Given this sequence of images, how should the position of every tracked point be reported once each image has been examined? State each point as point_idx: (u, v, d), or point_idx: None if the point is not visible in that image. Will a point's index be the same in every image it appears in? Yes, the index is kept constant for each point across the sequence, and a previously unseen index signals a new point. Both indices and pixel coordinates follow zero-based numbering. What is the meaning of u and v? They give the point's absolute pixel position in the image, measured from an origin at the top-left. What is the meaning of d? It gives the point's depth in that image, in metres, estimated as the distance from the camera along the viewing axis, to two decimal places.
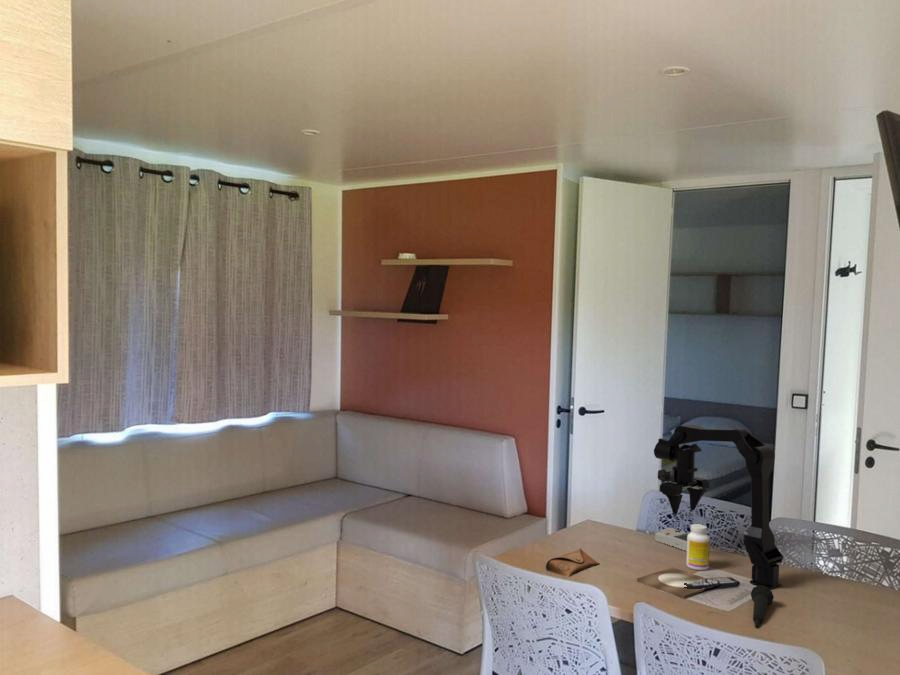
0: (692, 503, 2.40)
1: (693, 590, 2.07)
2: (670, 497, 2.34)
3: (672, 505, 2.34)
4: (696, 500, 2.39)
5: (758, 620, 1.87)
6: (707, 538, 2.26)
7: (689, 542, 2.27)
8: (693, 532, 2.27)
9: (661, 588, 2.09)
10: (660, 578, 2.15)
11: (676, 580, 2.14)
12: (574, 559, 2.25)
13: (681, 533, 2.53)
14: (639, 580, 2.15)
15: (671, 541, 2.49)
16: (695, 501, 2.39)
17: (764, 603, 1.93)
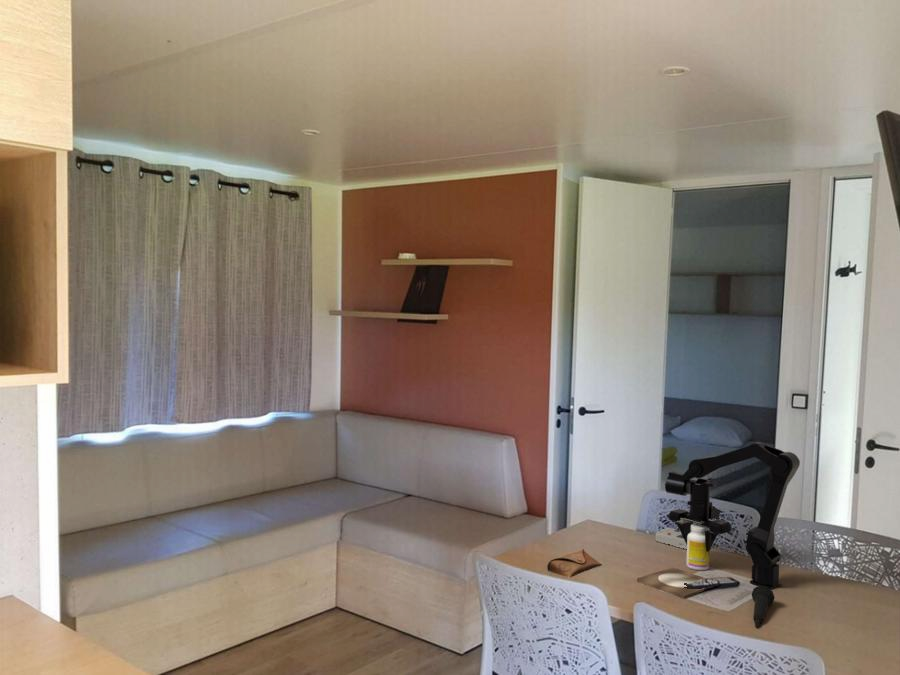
0: None
1: (693, 590, 2.07)
2: None
3: None
4: None
5: (758, 620, 1.86)
6: None
7: (689, 542, 2.27)
8: (693, 532, 2.27)
9: (661, 588, 2.09)
10: (660, 578, 2.15)
11: (676, 580, 2.14)
12: (576, 560, 2.24)
13: None
14: (639, 580, 2.15)
15: (674, 541, 2.49)
16: None
17: (765, 604, 1.93)
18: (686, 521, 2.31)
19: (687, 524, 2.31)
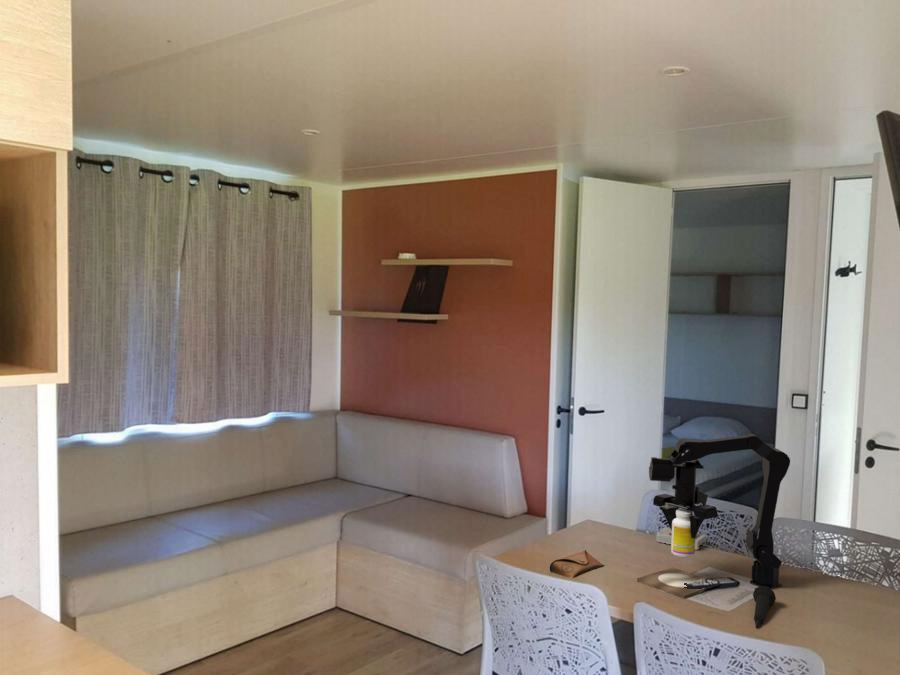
0: None
1: (693, 590, 2.07)
2: None
3: None
4: None
5: (759, 620, 1.86)
6: None
7: (673, 527, 2.17)
8: (678, 517, 2.16)
9: (661, 588, 2.09)
10: (660, 578, 2.15)
11: (676, 580, 2.14)
12: (578, 561, 2.23)
13: None
14: (639, 580, 2.15)
15: None
16: None
17: (766, 604, 1.93)
18: (671, 506, 2.20)
19: (672, 509, 2.20)
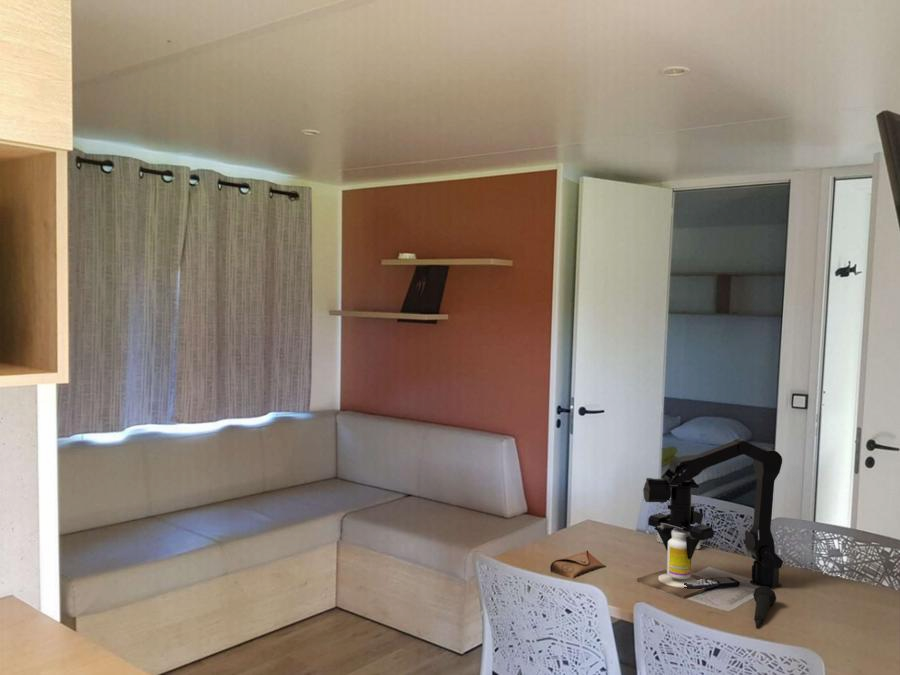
0: None
1: (693, 590, 2.07)
2: None
3: None
4: None
5: (759, 620, 1.86)
6: None
7: (669, 548, 2.13)
8: (674, 538, 2.13)
9: (661, 588, 2.09)
10: (660, 578, 2.15)
11: (676, 580, 2.14)
12: (579, 561, 2.23)
13: None
14: (639, 580, 2.15)
15: None
16: None
17: (766, 604, 1.93)
18: (667, 526, 2.17)
19: (668, 529, 2.17)
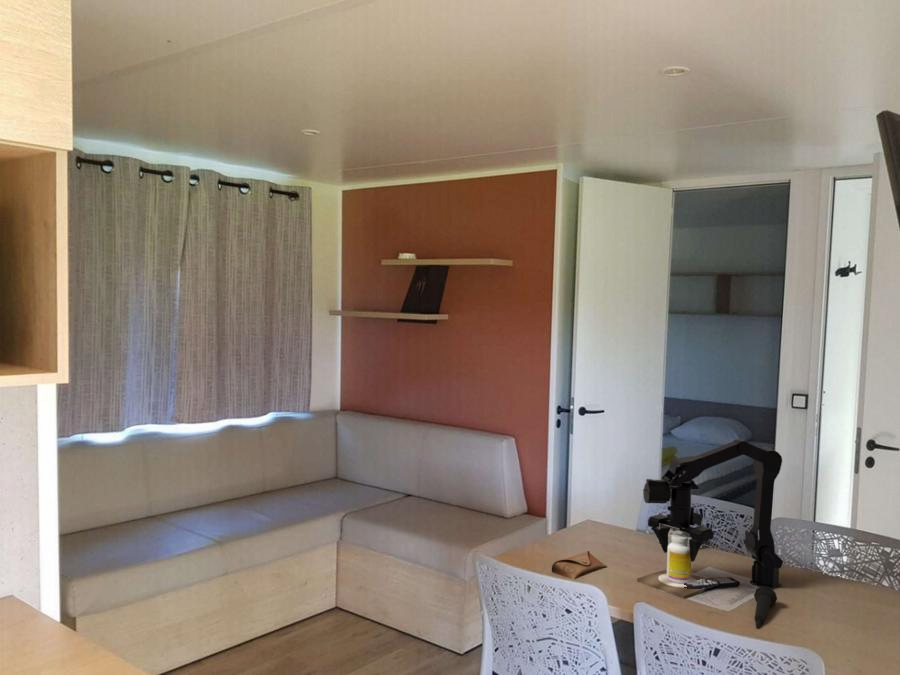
0: None
1: (693, 590, 2.07)
2: None
3: None
4: None
5: (759, 621, 1.86)
6: (688, 549, 2.12)
7: (669, 553, 2.13)
8: (673, 542, 2.13)
9: (661, 588, 2.09)
10: (660, 578, 2.15)
11: None
12: (580, 561, 2.23)
13: (679, 531, 2.55)
14: (639, 580, 2.15)
15: None
16: None
17: (767, 604, 1.93)
18: (663, 526, 2.18)
19: (664, 530, 2.18)
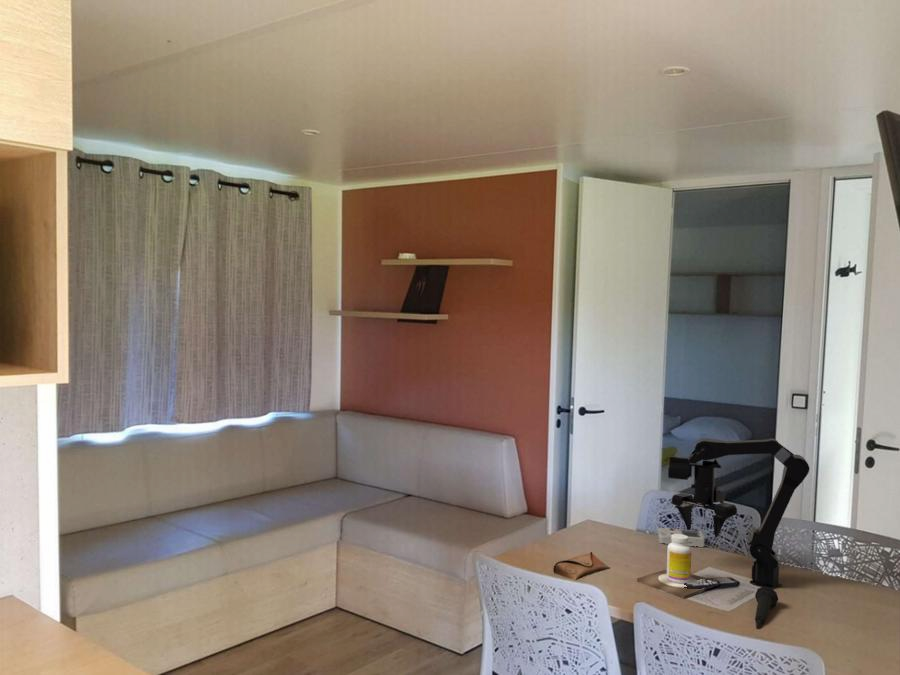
0: None
1: (693, 590, 2.07)
2: None
3: None
4: None
5: (760, 621, 1.86)
6: (688, 549, 2.12)
7: (669, 553, 2.13)
8: (673, 542, 2.13)
9: (661, 588, 2.09)
10: (660, 578, 2.15)
11: None
12: (582, 562, 2.22)
13: (678, 531, 2.56)
14: (639, 580, 2.15)
15: None
16: None
17: (768, 605, 1.93)
18: (687, 504, 2.24)
19: (688, 507, 2.24)
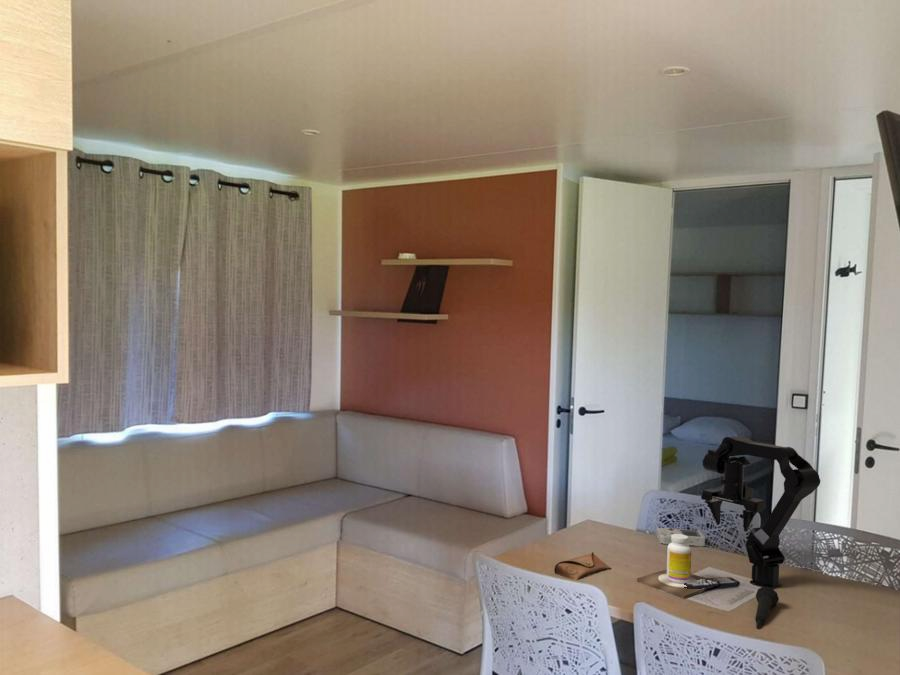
0: None
1: (693, 590, 2.07)
2: None
3: None
4: None
5: (760, 621, 1.86)
6: (688, 549, 2.12)
7: (669, 553, 2.13)
8: (673, 542, 2.13)
9: (661, 588, 2.09)
10: (660, 578, 2.15)
11: None
12: (584, 563, 2.21)
13: (677, 530, 2.56)
14: (639, 580, 2.15)
15: None
16: None
17: (768, 605, 1.93)
18: (716, 499, 2.31)
19: (717, 502, 2.31)
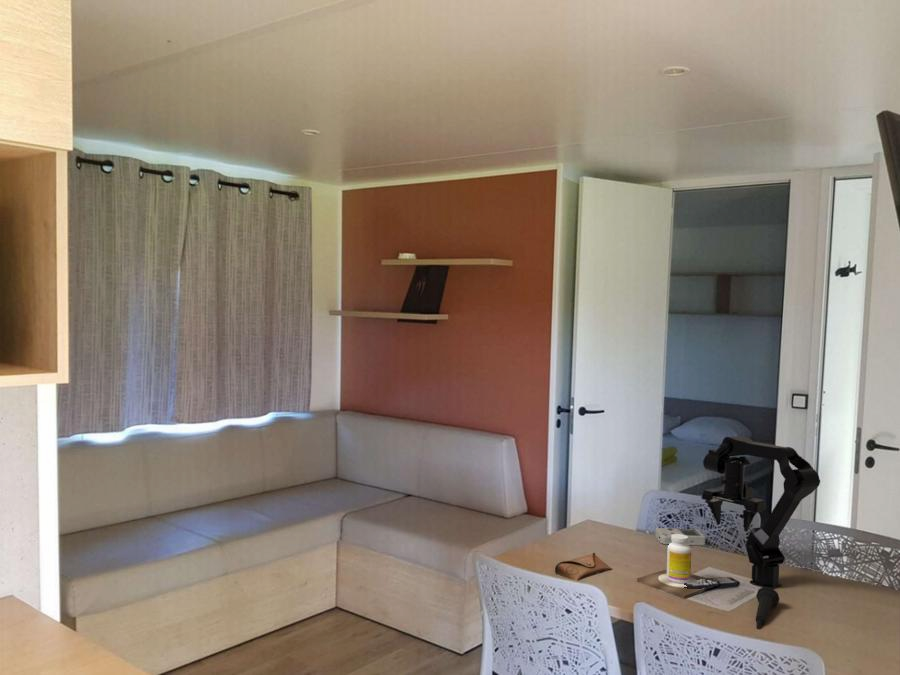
0: None
1: (693, 590, 2.07)
2: None
3: None
4: None
5: (760, 621, 1.86)
6: (688, 549, 2.12)
7: (669, 553, 2.13)
8: (673, 542, 2.13)
9: (661, 588, 2.09)
10: (660, 578, 2.15)
11: None
12: (584, 563, 2.21)
13: (677, 530, 2.57)
14: (639, 580, 2.15)
15: None
16: None
17: (768, 605, 1.93)
18: (716, 499, 2.31)
19: (717, 502, 2.31)
